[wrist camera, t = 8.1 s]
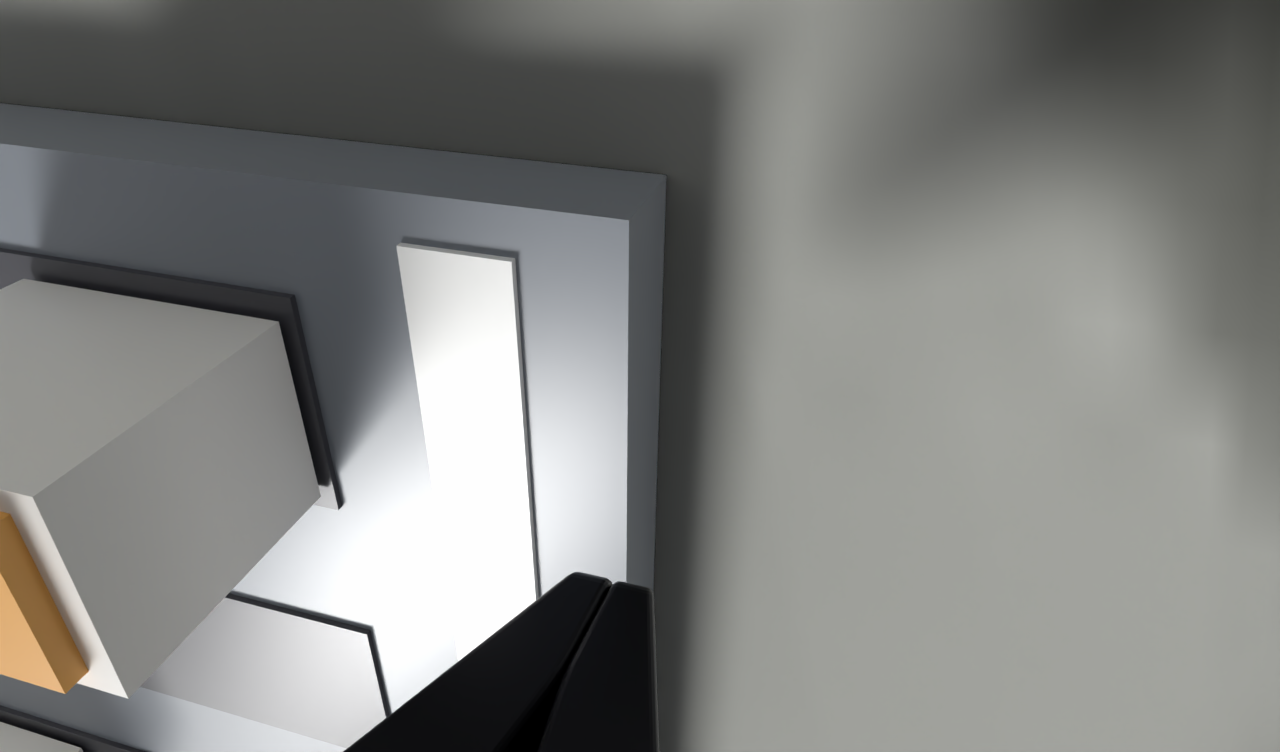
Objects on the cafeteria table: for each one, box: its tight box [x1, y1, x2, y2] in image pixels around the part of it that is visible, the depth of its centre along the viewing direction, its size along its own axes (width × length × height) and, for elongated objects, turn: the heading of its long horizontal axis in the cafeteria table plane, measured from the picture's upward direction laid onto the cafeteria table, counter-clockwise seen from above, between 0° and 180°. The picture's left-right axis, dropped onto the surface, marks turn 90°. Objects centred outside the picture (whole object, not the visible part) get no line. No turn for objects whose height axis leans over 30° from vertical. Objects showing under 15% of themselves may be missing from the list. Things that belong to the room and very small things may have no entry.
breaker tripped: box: [0, 279, 321, 699], centre depth 10 cm, size 4×3×4 cm
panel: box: [0, 103, 666, 752], centre depth 16 cm, size 21×18×2 cm
